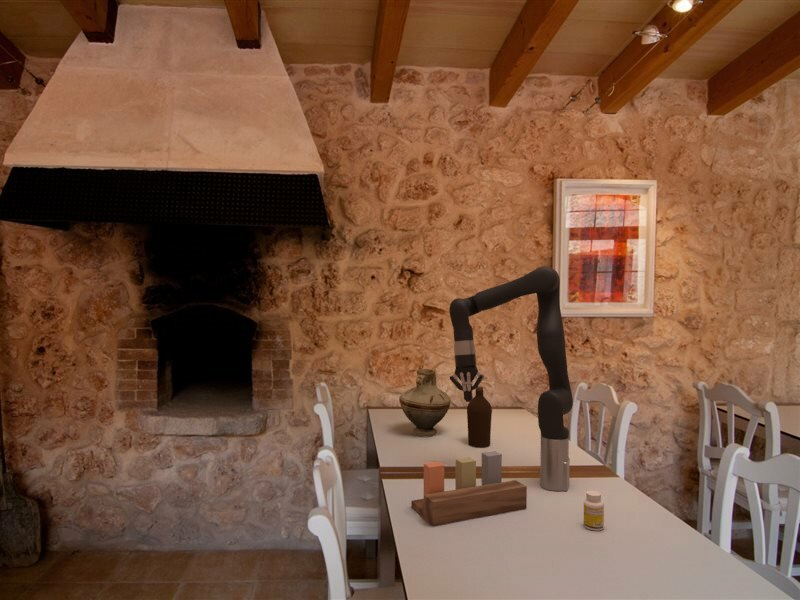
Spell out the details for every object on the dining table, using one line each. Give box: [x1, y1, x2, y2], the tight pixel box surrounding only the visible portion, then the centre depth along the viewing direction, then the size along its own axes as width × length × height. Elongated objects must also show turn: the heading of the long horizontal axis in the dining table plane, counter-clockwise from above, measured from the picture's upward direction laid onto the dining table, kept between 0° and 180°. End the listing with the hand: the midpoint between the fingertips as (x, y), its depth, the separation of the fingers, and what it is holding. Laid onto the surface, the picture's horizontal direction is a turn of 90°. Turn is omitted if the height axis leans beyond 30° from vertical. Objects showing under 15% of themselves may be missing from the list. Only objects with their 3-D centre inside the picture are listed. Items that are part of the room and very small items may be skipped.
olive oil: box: [466, 385, 493, 449], centre depth 238 cm, size 11×11×25 cm
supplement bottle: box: [583, 490, 605, 531], centre depth 157 cm, size 5×5×10 cm
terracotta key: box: [423, 461, 445, 496], centre depth 168 cm, size 4×5×12 cm
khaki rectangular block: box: [454, 457, 477, 490], centre depth 172 cm, size 4×5×12 cm
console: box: [411, 479, 528, 527], centre depth 170 cm, size 15×32×7 cm, turn 113°
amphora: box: [398, 368, 451, 437], centre depth 256 cm, size 24×24×30 cm
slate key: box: [481, 450, 503, 485], centre depth 179 cm, size 4×5×12 cm
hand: (468, 401), depth 199 cm, fingers closed
